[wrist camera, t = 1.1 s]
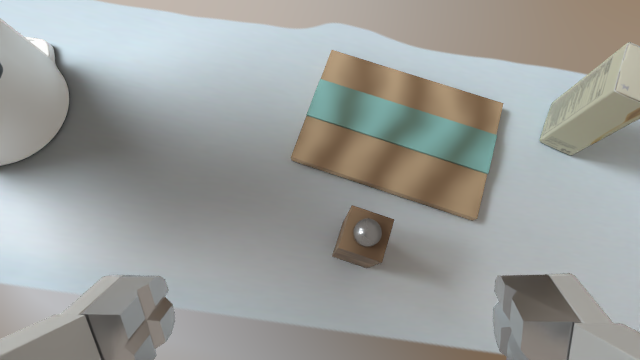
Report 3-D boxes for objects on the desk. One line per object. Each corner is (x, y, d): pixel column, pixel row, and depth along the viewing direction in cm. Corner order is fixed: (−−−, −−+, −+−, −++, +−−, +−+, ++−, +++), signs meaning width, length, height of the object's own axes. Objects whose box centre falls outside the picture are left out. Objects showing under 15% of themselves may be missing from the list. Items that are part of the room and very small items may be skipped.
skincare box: (571, 157, 47) (659, 113, 35) (537, 142, 47) (612, 93, 36) (585, 113, 49) (674, 57, 37) (552, 99, 49) (629, 39, 37)
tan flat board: (291, 160, 46) (290, 156, 44) (331, 55, 50) (331, 48, 48) (472, 220, 44) (478, 218, 43) (498, 107, 48) (504, 102, 47)
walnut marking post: (331, 256, 43) (339, 246, 33) (342, 222, 44) (352, 203, 34) (366, 268, 43) (383, 261, 33) (376, 233, 44) (396, 218, 34)
